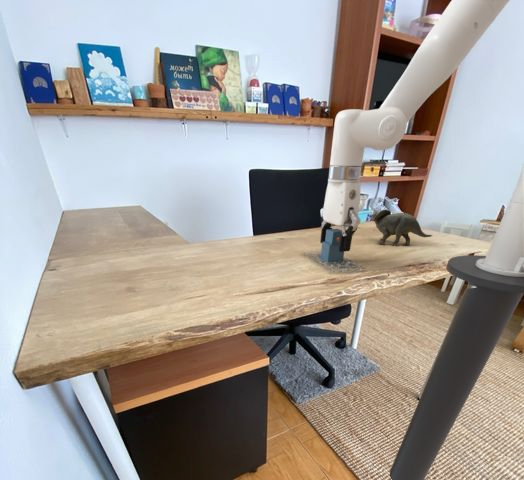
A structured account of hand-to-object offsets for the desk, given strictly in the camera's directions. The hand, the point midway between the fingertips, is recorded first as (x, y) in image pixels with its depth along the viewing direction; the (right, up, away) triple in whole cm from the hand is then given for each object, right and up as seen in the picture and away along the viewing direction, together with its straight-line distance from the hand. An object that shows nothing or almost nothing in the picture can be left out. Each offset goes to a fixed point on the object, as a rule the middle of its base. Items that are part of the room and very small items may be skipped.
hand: (334, 246), depth 81 cm
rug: (0, -4, +2) cm, 4 cm away
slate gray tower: (0, -3, +2) cm, 4 cm away
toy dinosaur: (+26, +8, +21) cm, 34 cm away
